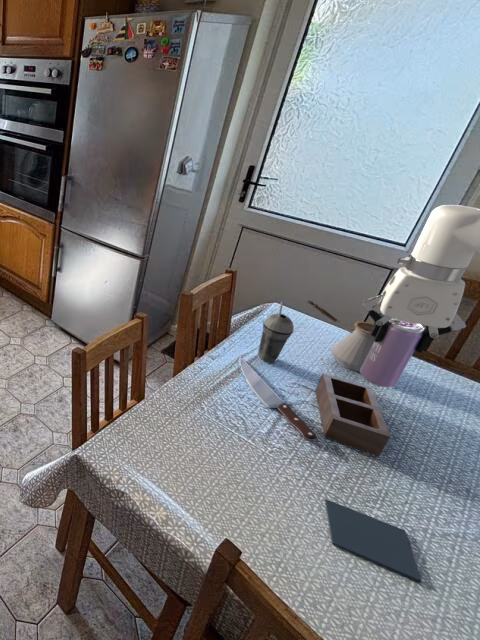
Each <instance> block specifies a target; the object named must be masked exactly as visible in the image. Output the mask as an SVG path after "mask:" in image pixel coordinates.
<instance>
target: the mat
mask: <svg viewBox="0 0 480 640" xmlns="http://www.w3.org/2000/svg"><path fill="white" fill-rule="evenodd" d="M324 502H325V509H326V516H327V522H328V528H329V533H330V534H329V535H330V540H331V545H332V546H335V547H337V548H340V549H342V550H345V551H347V552H349V553H351V554H354V555H356V556H358V557H361V558H363V559H365V560H368V561H370V562H372V563H374V564H377V565H379V566H382V567H384V568H386V569H388V570H391V571H392V572H395V573H397V574H400V575H402V576H404V577H407V578H409V579H412V580H413V581H416V582H418V583H422V578H421V575H420V572H419V570H418V566H417V563H416V560H415V556H414V553H413V550H412V548H411V544H410V541H409V538H408V536H407V532H406V530H405V529H404V528H403V529H402V528H401V527H397V526H395V525H393V524H390V523H387V522H385V521H383V520H380V519H378V518H376V517H372V516H370V515H367V514H365V513H362V512H360V511H357V510H355V509H353V508H350V507H347V506H345V505H342V504H339V503H337V502H334V501H332V500H330V499H326V498H325V499H324Z"/></svg>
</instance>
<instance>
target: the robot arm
mask: <svg viewBox="0 0 480 640" xmlns="http://www.w3.org/2000/svg"><path fill="white" fill-rule="evenodd" d="M476 253H479V254H480V208H477V207H473V206H472V207H471V206H467V205H460V204H459V205H457V204H443V205H440V206H437V207H435V208H434V209H433V210H432V211H431V212H430V214H429V217H428V218H427V221H426V223H425V225H424V227H423V229H422V230H421V233H420V235H419V237H418V239H417V241H416V243H415V246H414V248H413V250H412V252H411V254H409V255H408V256H407V257H398V259H397V264H398V265H402V266H401V267H399V269H398V270H397V271H396V272H395V273H394V275H393V276H392V277H391V278H390V280H389V282H387V284H386V285H385V288H384V289H383V291H382V293H380V295H377V296H374V297H371V298H368V299H366V300H363V301H361V302H360V305H361V307H362V308H363V310H364V311H365V312H366V313H367V314H368V315H369V317H370V318H371V319H372V320H373V321H374V322H373V323H372V324H373V326H372V328H371V330H370V335H372V338H373V340H374V342H379V341H380V339H381V337H382V335H383V333H384V331H385V328H386V327H385V323H386V322H388V321H389V320H390V319H392V318H393V319H398V320H402V321H407V322H411V323H416V324H421V325H422V326H425V327H424V328H425V330H424V335H423V337H422V338H421V340H420V342H419V344H418V346H417V347H416V349H415V351H416V352H417V353H421V354H422V353H423V352H424V350H425V349H428V348H429V346H430V345H431V343H432V341H433V340H434V339H437V338H438V337H439V336H442V335H444V334H449V333H451V332H452V331H458V330H461V329H465V328H466V327H467V324H466V323H465V322H464V321H463V319H462V318H461V317H460V315H459V314H458V309H459V307H460V304H461V302H462V299H463V296H464V292H465V287H466V282H465V281H464V280H463V279H462V277H463V275H464V273H465V272H466V270H467V268H468V266H469V265H470V263H471V261H472V259H473V257H474V255H475V254H476ZM374 306H379V308H380V309H379V310H380V311H377V310H376V309H375V308H374Z"/></svg>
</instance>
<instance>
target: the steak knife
mask: <svg viewBox="0 0 480 640" xmlns="http://www.w3.org/2000/svg"><path fill="white" fill-rule="evenodd" d="M239 362H240V364H241V365H240V366H241V370H242V372H243V375H244V376H245V378H246V380H245V381H246V383H247V385H248V386H249V388H250V389H251V391H252V392H253V393H254V394H255V396H256V397H257V398H258V399H259V400H260V401H261V402H262V405H264V406H265V407H266V408H267V409H277V410H278V412H279V413H280V414H281V415H282V416H283V417H284V418H285V419H286V421H287V422H288V423H289V424H290V426H292V427H293V428H294V429H295V430H297V432H299V433H300V435H301V437H302V438H303V439H304V440H306V441H310V442H313V441H316V440H317V435H316V433H315V432H314V431H313V430H312V429H311V427H309V426H308V425H307V424H306V422H305V421H304V420H303V419H302V418H301V417H300V416H299V415H298V414H297V413H296V412H295V411H294V410H293V409H292V407H291V406H290V405H289V404H287V403H286V402H285V401H284V400H283V399H281V398H280V397H279V396H278V394H277V393H275V391H274V390H273V389H272V388H271V387H270V385H268V384H267V383H266V382H265V381H264V379H262V378H261V376H260V375H259V374H258V373H257V372H256V371H255V370H254V369H253V368H252V367H251V365H250V364H249V363H247V361H245V359H243V358H242V357H241V356H240V357H239V359H238V363H239ZM241 370H240V371H241ZM242 372H241V373H242ZM243 375H242V376H243ZM245 378H244V379H245Z"/></svg>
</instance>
